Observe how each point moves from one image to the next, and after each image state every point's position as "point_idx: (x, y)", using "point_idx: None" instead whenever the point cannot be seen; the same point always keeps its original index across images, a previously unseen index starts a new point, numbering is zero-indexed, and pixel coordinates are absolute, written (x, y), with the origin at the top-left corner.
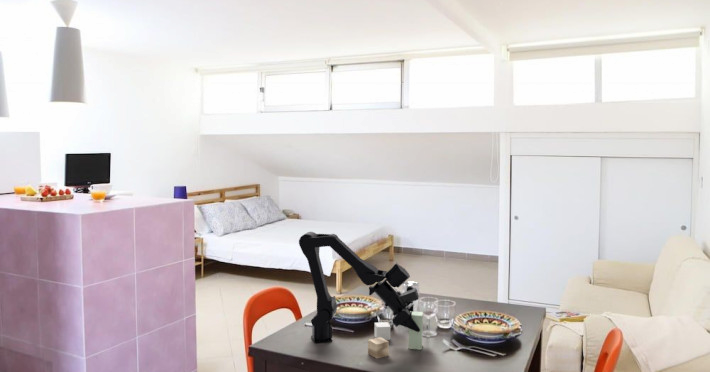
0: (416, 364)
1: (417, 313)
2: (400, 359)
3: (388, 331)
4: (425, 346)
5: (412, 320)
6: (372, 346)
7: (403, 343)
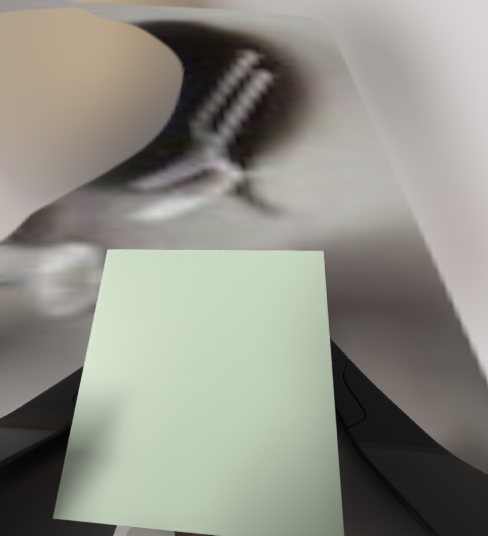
0: (446, 313)
1: (200, 342)
2: (417, 393)
3: (138, 531)
4: None
5: (397, 409)
6: None
7: None
